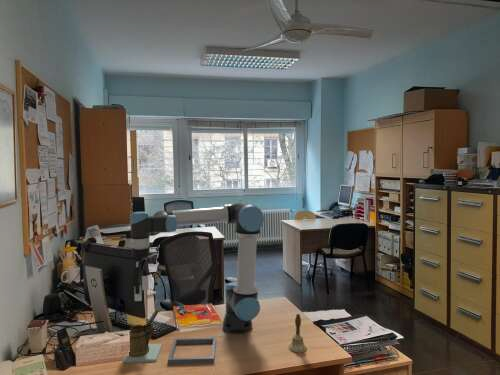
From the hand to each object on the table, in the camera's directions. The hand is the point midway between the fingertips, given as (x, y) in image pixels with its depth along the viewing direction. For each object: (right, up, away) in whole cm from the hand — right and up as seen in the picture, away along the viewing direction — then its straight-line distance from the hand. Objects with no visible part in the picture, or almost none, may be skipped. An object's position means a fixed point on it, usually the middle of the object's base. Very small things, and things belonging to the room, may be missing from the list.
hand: (141, 295), depth 171 cm
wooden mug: (0, -26, +2) cm, 26 cm away
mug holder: (+22, -26, +3) cm, 34 cm away
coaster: (0, -27, +2) cm, 27 cm away
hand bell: (+69, -26, +6) cm, 74 cm away
